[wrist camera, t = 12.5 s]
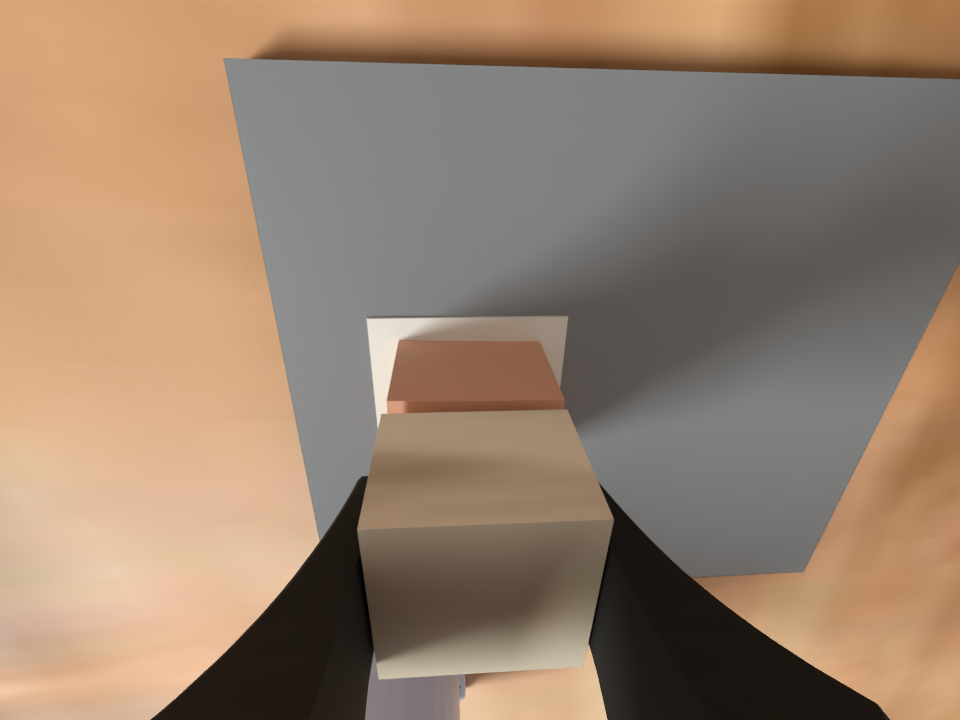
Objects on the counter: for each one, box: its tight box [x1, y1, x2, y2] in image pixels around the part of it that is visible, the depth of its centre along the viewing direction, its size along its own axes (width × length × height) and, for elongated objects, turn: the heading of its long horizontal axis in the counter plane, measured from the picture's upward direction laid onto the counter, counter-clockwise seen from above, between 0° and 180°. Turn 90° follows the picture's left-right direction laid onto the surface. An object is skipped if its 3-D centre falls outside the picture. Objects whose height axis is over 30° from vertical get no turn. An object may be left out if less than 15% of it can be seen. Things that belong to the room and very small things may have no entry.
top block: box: [357, 409, 614, 680], centre depth 11 cm, size 5×5×4 cm
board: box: [223, 58, 960, 578], centre depth 17 cm, size 20×22×1 cm
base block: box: [387, 340, 565, 414], centre depth 15 cm, size 5×5×4 cm
